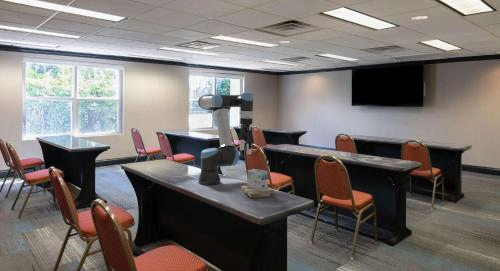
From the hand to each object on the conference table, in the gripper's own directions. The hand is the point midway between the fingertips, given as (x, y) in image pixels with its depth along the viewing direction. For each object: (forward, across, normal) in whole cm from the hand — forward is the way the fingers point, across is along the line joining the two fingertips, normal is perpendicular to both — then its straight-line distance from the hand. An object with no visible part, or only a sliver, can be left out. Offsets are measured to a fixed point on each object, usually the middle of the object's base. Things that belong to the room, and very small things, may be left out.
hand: (245, 151), depth 208 cm
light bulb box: (+21, +9, +5) cm, 23 cm away
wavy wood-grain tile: (+25, +9, +5) cm, 27 cm away
